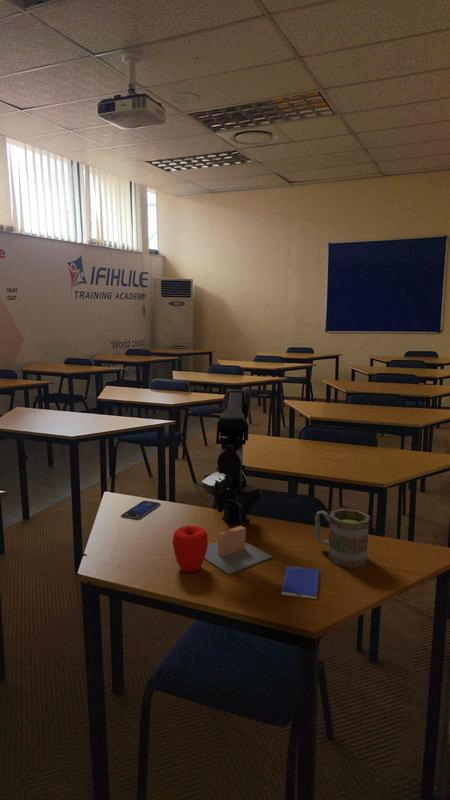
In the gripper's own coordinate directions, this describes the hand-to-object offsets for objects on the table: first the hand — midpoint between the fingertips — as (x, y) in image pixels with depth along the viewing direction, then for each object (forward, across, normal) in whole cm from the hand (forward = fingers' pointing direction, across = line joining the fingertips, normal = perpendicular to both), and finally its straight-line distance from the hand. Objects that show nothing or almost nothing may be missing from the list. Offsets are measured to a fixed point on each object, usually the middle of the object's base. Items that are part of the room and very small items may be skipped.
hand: (230, 517), depth 137 cm
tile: (+9, +1, 0) cm, 9 cm away
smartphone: (+10, -41, -5) cm, 43 cm away
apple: (+10, +1, -14) cm, 17 cm away
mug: (+10, +20, +22) cm, 31 cm away
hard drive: (+11, +24, +3) cm, 26 cm away
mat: (+10, +2, -1) cm, 10 cm away
